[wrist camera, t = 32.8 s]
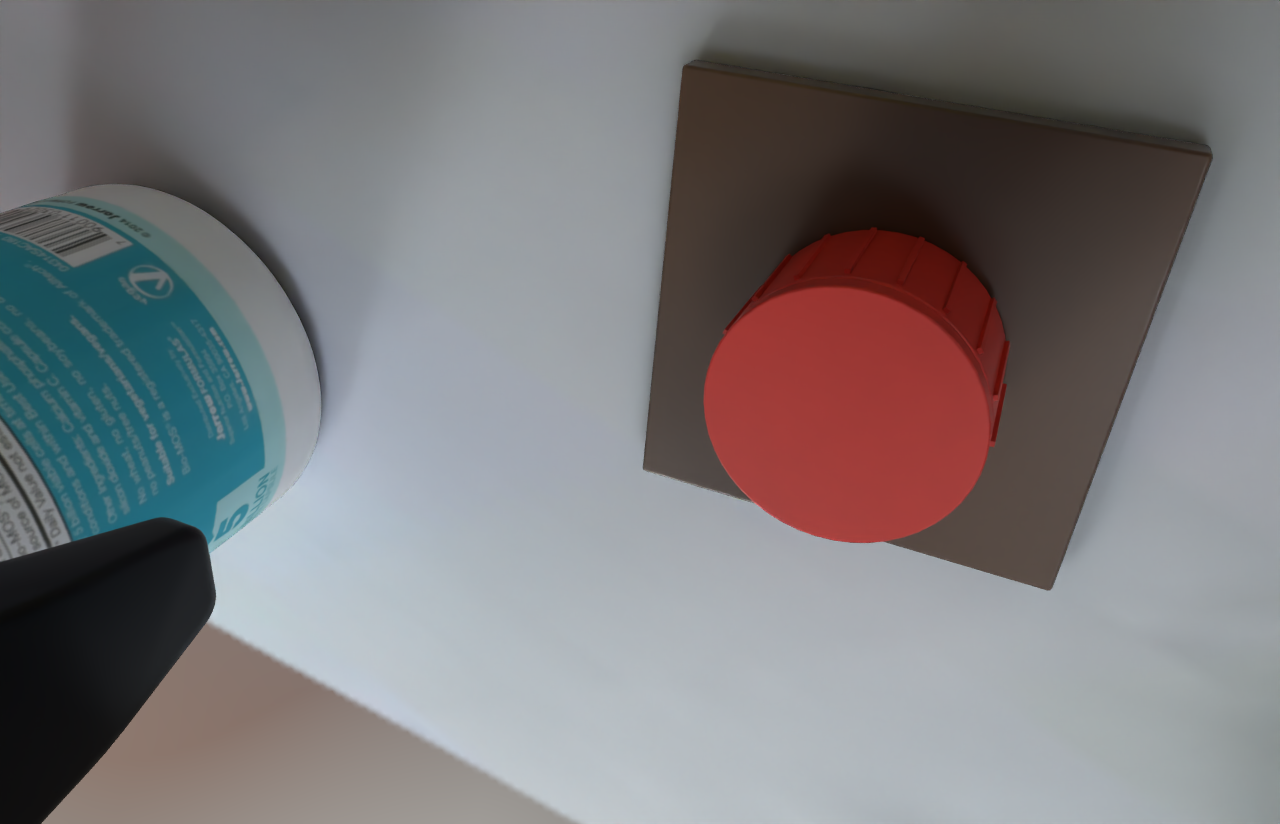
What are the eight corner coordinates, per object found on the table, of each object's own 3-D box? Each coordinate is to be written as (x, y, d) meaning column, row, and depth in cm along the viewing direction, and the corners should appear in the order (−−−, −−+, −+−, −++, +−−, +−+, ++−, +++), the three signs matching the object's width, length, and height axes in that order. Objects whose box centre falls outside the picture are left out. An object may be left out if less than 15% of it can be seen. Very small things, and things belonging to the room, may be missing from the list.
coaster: (1212, 144, 13) (1215, 154, 12) (1052, 575, 16) (1051, 593, 16) (693, 58, 15) (681, 64, 14) (651, 457, 18) (641, 471, 18)
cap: (962, 187, 14) (937, 241, 12) (1043, 437, 15) (1033, 523, 13) (713, 268, 16) (656, 326, 14) (802, 483, 17) (760, 564, 15)
